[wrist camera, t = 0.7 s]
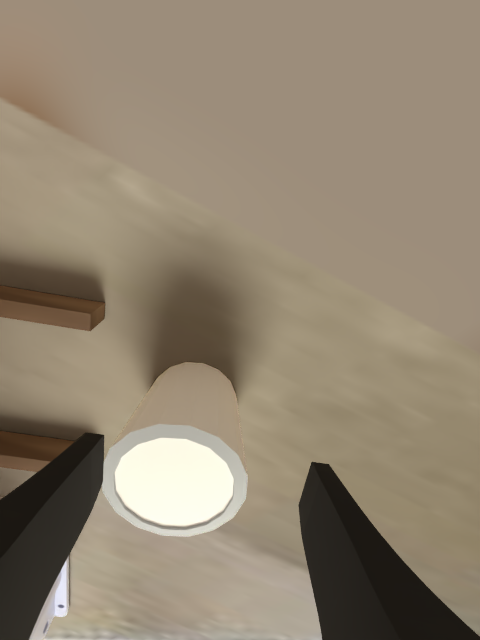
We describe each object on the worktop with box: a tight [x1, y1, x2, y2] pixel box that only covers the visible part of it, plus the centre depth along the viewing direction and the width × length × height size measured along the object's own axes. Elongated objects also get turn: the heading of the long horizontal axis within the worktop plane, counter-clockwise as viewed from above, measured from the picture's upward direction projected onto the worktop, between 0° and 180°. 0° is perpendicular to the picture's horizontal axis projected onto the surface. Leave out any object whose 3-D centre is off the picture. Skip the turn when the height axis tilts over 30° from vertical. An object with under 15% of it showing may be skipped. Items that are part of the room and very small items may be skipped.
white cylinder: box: [102, 362, 248, 537], centre depth 19 cm, size 7×7×7 cm
